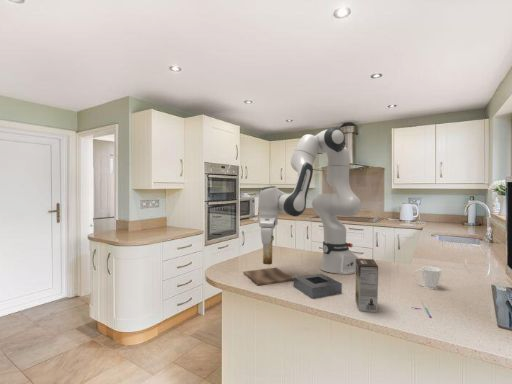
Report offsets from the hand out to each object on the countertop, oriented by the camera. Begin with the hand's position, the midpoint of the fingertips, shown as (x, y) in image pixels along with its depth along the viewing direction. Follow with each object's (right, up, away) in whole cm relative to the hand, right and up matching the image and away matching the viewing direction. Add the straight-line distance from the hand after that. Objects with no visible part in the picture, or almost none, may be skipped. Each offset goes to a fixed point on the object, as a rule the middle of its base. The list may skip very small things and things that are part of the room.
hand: (267, 250), depth 131 cm
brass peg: (0, -6, 0) cm, 6 cm away
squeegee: (+52, -15, -32) cm, 63 cm away
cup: (+68, -14, -11) cm, 70 cm away
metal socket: (+20, -13, -15) cm, 28 cm away
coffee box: (+34, -14, -31) cm, 48 cm away
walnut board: (0, -13, 0) cm, 13 cm away
